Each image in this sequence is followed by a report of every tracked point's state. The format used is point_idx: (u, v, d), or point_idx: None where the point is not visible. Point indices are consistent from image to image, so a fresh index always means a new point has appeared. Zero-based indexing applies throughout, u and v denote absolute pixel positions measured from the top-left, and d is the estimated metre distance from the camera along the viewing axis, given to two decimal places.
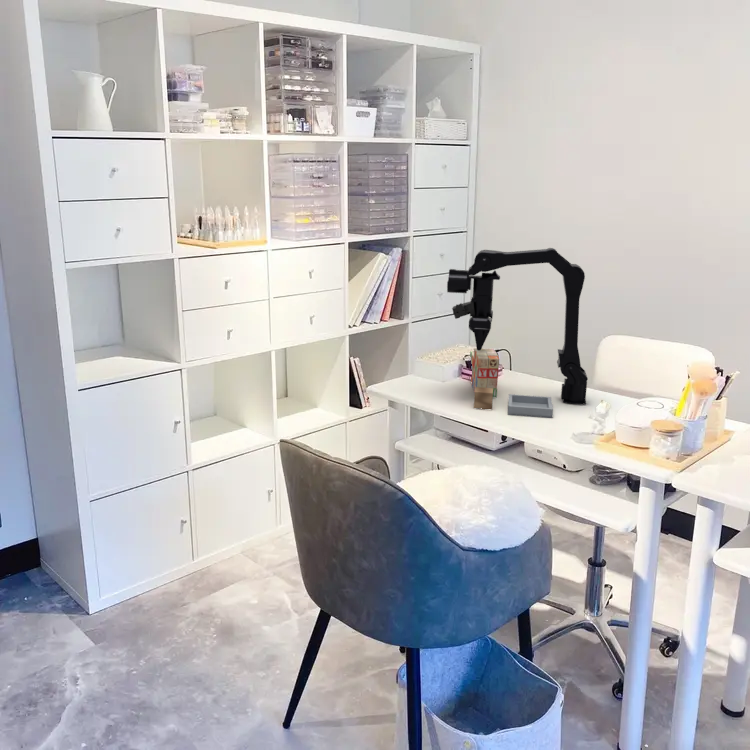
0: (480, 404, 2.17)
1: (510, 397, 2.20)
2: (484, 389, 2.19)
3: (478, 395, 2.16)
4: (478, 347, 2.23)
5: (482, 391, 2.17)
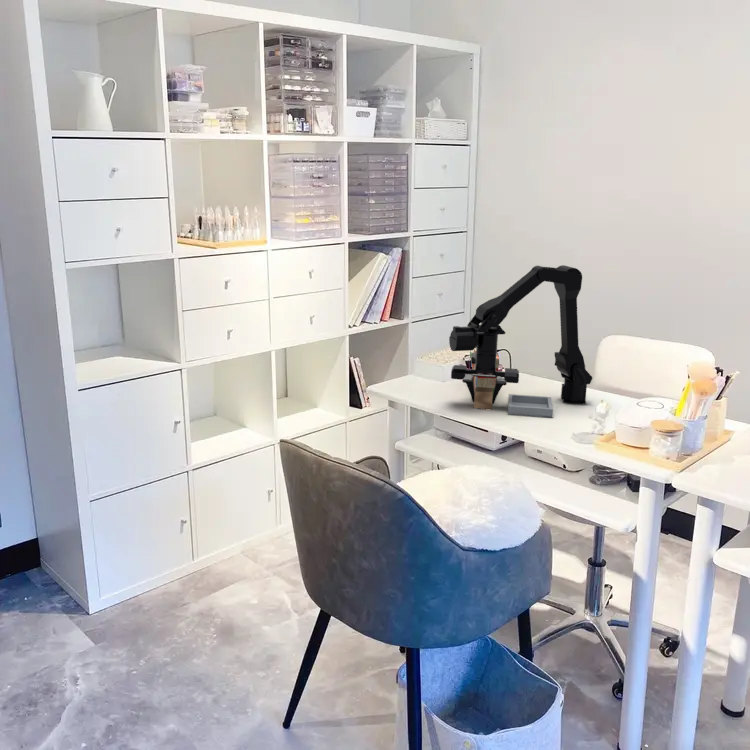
0: (480, 404, 2.17)
1: (510, 397, 2.20)
2: (484, 389, 2.19)
3: (478, 394, 2.16)
4: (472, 399, 2.20)
5: (482, 390, 2.17)
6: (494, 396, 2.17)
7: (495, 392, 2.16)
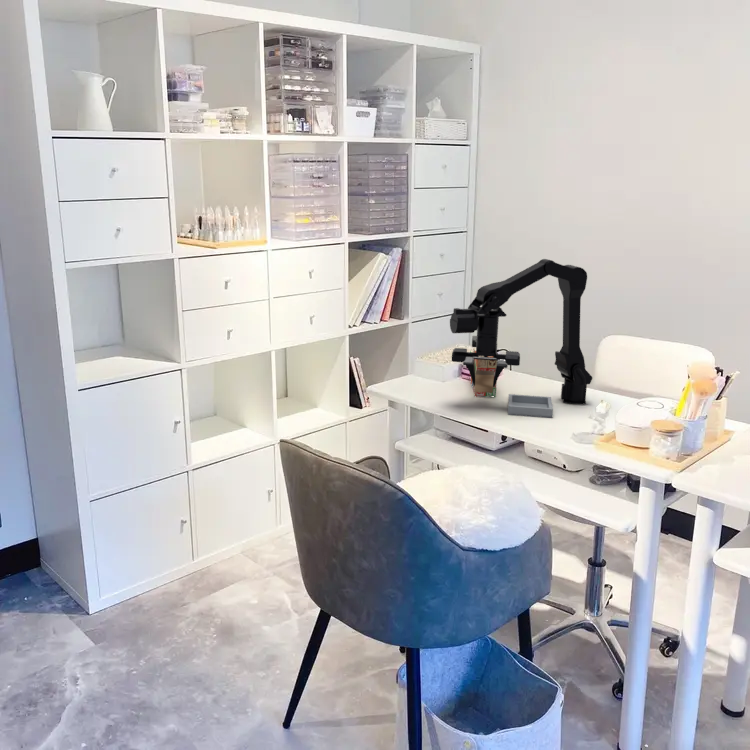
0: (481, 387, 2.16)
1: (510, 397, 2.20)
2: (485, 372, 2.18)
3: (479, 377, 2.15)
4: (473, 382, 2.18)
5: (483, 373, 2.16)
6: (495, 379, 2.15)
7: (496, 375, 2.15)
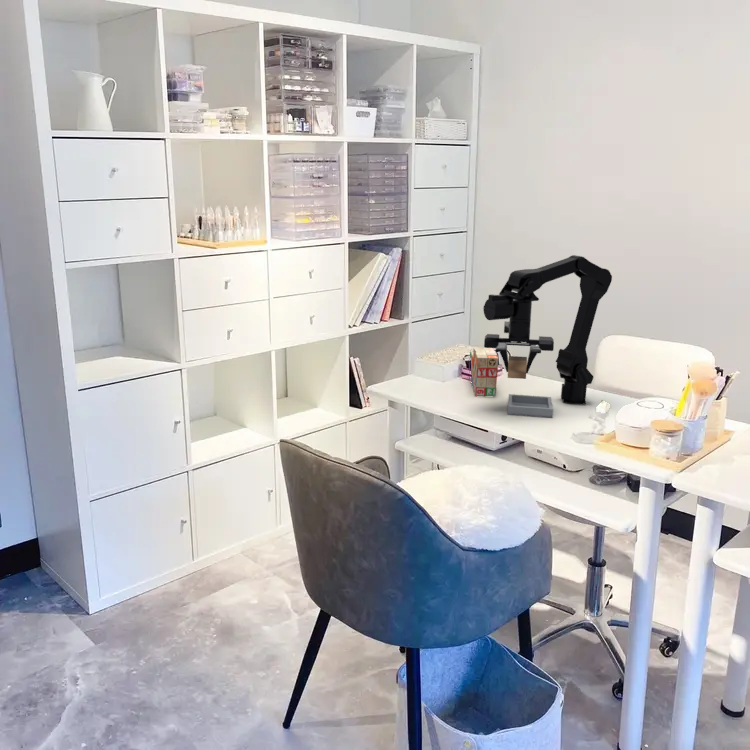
0: (514, 373, 2.13)
1: (510, 397, 2.20)
2: (518, 358, 2.15)
3: (512, 363, 2.13)
4: None
5: (516, 359, 2.14)
6: (528, 365, 2.13)
7: (529, 361, 2.12)
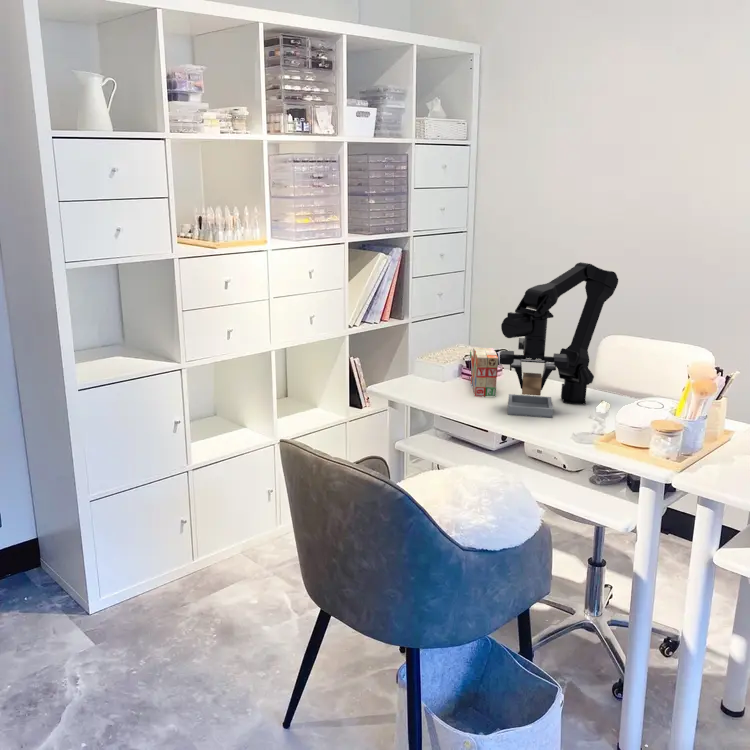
0: (528, 390, 2.14)
1: (510, 397, 2.20)
2: (532, 374, 2.16)
3: (527, 380, 2.13)
4: (520, 384, 2.16)
5: (531, 376, 2.14)
6: (543, 382, 2.13)
7: (544, 377, 2.13)
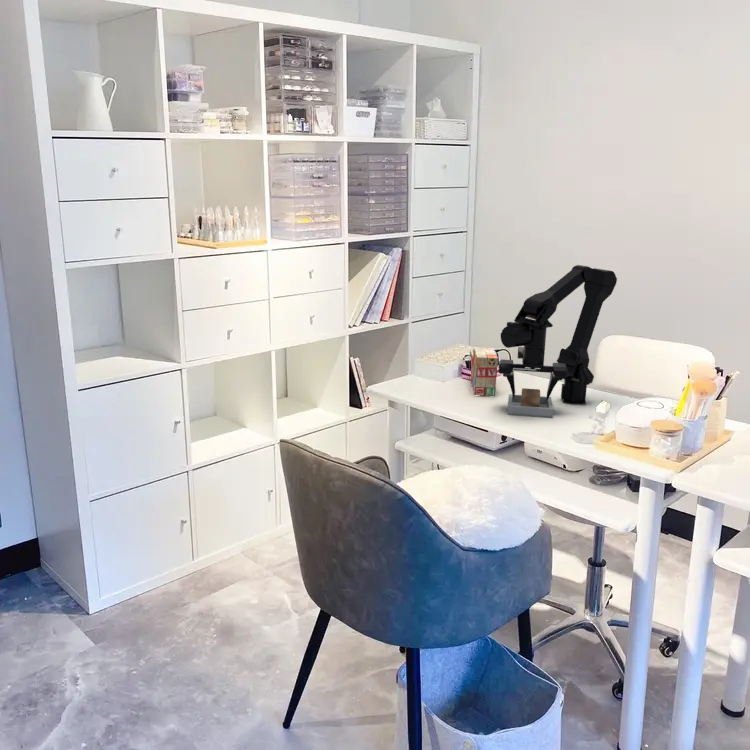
0: None
1: (510, 397, 2.20)
2: (531, 390, 2.17)
3: (525, 396, 2.14)
4: None
5: (530, 392, 2.15)
6: (549, 391, 2.14)
7: (550, 387, 2.13)
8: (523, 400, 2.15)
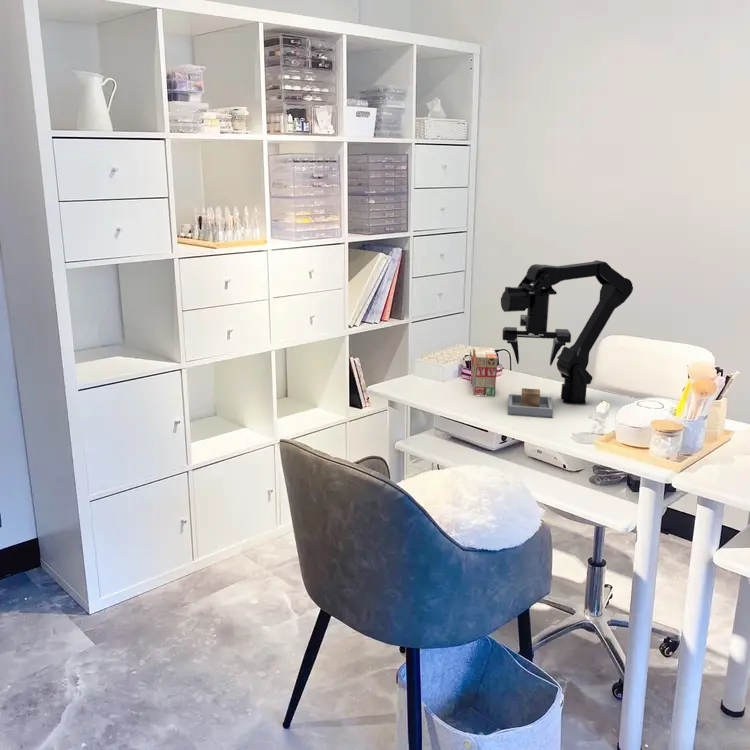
0: None
1: (510, 397, 2.20)
2: (531, 390, 2.17)
3: (525, 396, 2.14)
4: (516, 360, 2.21)
5: (530, 392, 2.15)
6: (553, 357, 2.17)
7: (554, 353, 2.16)
8: (523, 400, 2.15)
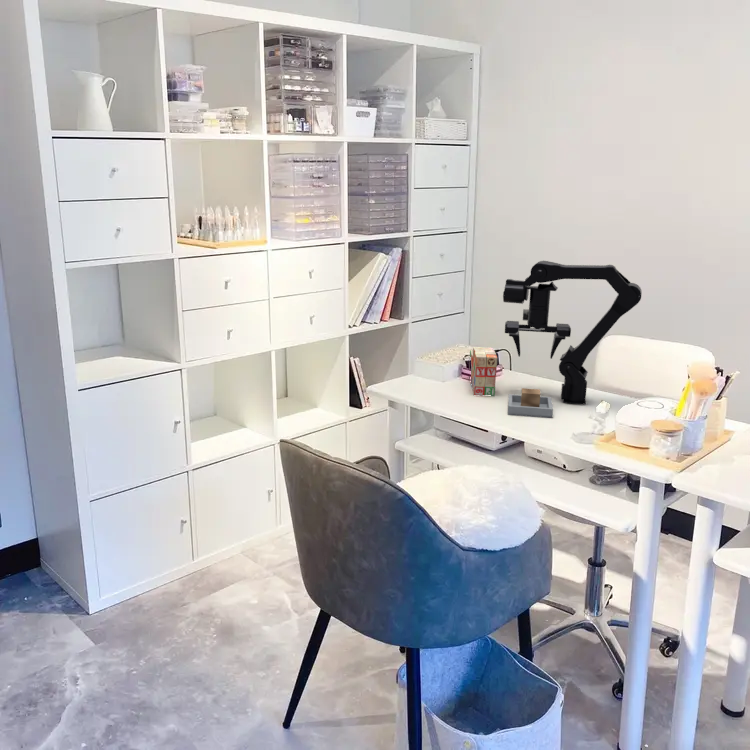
0: None
1: (510, 397, 2.20)
2: (531, 390, 2.17)
3: (525, 396, 2.14)
4: None
5: (530, 392, 2.15)
6: (553, 350, 2.25)
7: (554, 346, 2.24)
8: (523, 400, 2.15)
